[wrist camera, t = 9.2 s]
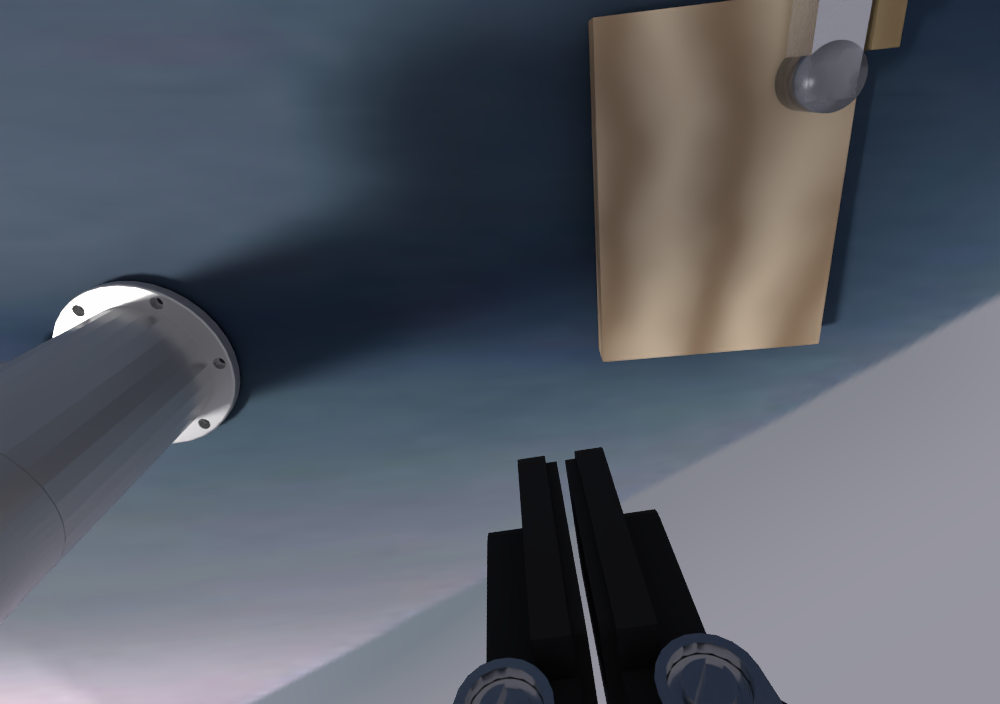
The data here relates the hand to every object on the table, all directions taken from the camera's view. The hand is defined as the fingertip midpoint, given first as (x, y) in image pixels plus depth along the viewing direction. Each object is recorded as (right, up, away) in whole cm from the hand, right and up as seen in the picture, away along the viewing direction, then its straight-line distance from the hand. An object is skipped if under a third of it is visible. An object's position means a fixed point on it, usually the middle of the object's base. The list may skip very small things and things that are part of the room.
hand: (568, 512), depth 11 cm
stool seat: (+12, +13, +23) cm, 29 cm away
